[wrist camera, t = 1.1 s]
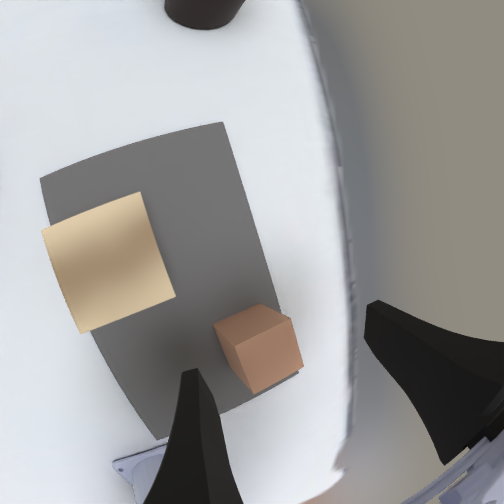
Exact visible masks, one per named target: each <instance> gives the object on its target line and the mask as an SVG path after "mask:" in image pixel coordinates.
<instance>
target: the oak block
mask: <svg viewBox="0 0 504 504" xmlns="http://www.w3.org/2000/svg"><path fill="white" fill-rule="evenodd" d="M41 232H42V235H43V239H44V242H45V245H46V248H47V252H48V255H49V258H50V261H51V264H52V267H53V270H54V272H55V275H56V278H57V281H58V283H59V286H60V288H61V291H62V293H63V296H64V298H65V301H66V303H67V306H68V308H69V310H70V313H71V315H72V317H73V319H74V321H75V324H76V326H77V328H78V330H79V332H80V334H83V333H85V332H88V331H90V330H93V329H96V328H98V327H101V326H103V325H106V324H108V323H111V322H114V321H116V320H119V319H121V318H124V317H126V316H129V315H131V314H134V313H136V312H139V311H141V310H144V309H146V308H149V307H151V306H154V305H156V304H159V303H161V302H164V301H166V300H169V299H171V298H174V297H176V295H175V293H174V290H173V287H172V285H171V282H170V279H169V277H168V274H167V271H166V269H165V266H164V263H163V260H162V257H161V255H160V252H159V249H158V246H157V243H156V240H155V237H154V234H153V231H152V228H151V225H150V222H149V219H148V216H147V212H146V209H145V206H144V203H143V199H142V196H141V192H137V193H134V194H131V195H128V196H125V197H123V198H120V199H117V200H114V201H111V202H109V203H106V204H103V205H101V206H98V207H96V208H93V209H90V210H88V211H85V212H83V213H80V214H78V215H75V216H73V217H71V218H68V219H66V220H63V221H61V222H59V223H56V224H54V225H52V226H50V227H47V228H45V229H43V230H41Z"/></svg>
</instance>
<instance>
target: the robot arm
mask: <svg viewBox="0 0 504 504" xmlns="http://www.w3.org/2000/svg"><path fill="white" fill-rule="evenodd" d="M364 339H365V341H366V342H367V344H368V346H369V347H370V349H371V351H372V352H373V354H374V355H375V357H376V358H377V359H378V360H379V362H380V363H381V364H382V365H383V366H384V367H385V369H386V370H387V371H388V372H389V374H390V375H391V376H392V377H393V378H394V379H395V381H396V382H397V383H398V384H399V385H400V386H401V388H402V389H403V390H404V392H405V393H406V394H407V396H408V397H409V399H410V400H411V402H412V404H413V405H414V407H415V408H416V410H417V412H418V414H419V416H420V417H421V419H422V421H423V423H424V424H425V427H426V428H427V431H428V433H429V435H430V437H431V439H432V441H433V443H434V446H435V448H436V451H437V453H438V456H439V459H440V460H441V462H442V463H443V464H444V465H446V464H447V463H449V462H450V461H451V460H452V459H453V458H455V457H456V456H457V455H458V454H459V453H460V452H461V451H463V450H464V449H465V448H466V447H467V446H468V448H469V449H470V451H469V452H468V453H467V454H465V455H464V456H463V457H462V458H461V459H460V460H459V461H457V462H456V463H455V464H454V465H453V466H452V467H450V468H449V469H448V470H447V471H446V472H444V473H443V474H442V475H440V476H439V477H438V478H436V479H435V480H434V481H432V482H431V483H430V484H428V485H427V486H426V487H424V488H423V489H421V490H420V491H419V492H417V493H416V494H414V495H413V496H411V497H410V498H408V499H406V500H405V501H403V502H402V503H400V504H425V503H426V502H427V501H429V500H430V499H432V498H433V497H434V496H436V495H437V494H438V493H440V492H441V491H442V490H444V489H445V488H446V487H447V486H449V485H450V484H451V483H452V482H454V481H455V480H456V479H457V478H458V477H459V476H461V475H462V474H463V473H464V472H465V471H466V470H467V474H466V475H465V476H464V477H462V478H461V479H459V480H458V481H457V482H455V483H454V484H453V485H451V486H450V487H449V488H448V489H447V490H446V491H445V492H443V493H442V494H441V495H440V496H439V500H440V501H441V502H440V503H438V504H504V342H496V341H488V340H483V339H478V338H473V337H468V336H464V335H461V334H458V333H454V332H451V331H448V330H445V329H442V328H440V327H437V326H435V325H432V324H430V323H427V322H425V321H423V320H421V319H418V318H416V317H414V316H412V315H410V314H408V313H405V312H403V311H401V310H399V309H397V308H395V307H393V306H391V305H389V304H387V303H384V302H382V301H380V300H377V301H375V302H373V303H370V304H368V305H367V309H366V322H365V332H364ZM112 465H113V468H114V469H115V470H116V471H117V472H118V473H119V474H120V475H121V476H122V477H123V478H124V479H125V480H126V481H127V482H128V483H129V484H130V485H131V486H132V487H133V489H134V495H135V500H136V504H243V501H242V499H241V496H240V494H239V491H238V488H237V486H236V483H235V480H234V477H233V474H232V471H231V468H230V464H229V460H228V455H227V450H226V445H225V440H224V435H223V430H222V425H221V420H220V416H219V413H218V409H217V406H216V403H215V400H214V396H213V394H212V393H211V391H210V389H209V387H208V386H207V384H206V382H205V380H204V378H203V377H202V375H201V373H200V371H199V369H198V368H195V369H191V370H187V371H184V372H182V374H181V380H180V388H179V394H178V400H177V406H176V410H175V415H174V420H173V425H172V428H171V432H170V436H169V440H168V444H167V445H164V446H162V447H159V448H156V449H153V450H150V451H147V452H144V453H141V454H138V455H135V456H132V457H128V458H125V459H121V460H118V461H114V462H113V463H112ZM120 468H121V469H120Z"/></svg>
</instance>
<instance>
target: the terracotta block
mask: <svg viewBox="0 0 504 504" xmlns="http://www.w3.org/2000/svg"><path fill="white" fill-rule="evenodd" d="M213 326H214V329H215V332H216V334H217V337H218V339H219V341H220V344H221V346H222V349H223V351H224V354H225V356H226V358H227V361H228V363H229V366H230V368H231V369H232V370H233V371H234V372H235V373H236V375H237V376H238V377H239V378H240V379H241V380H242V382H243V383H244V384H245V385H246V386H247V387H248V389H249V390H250V391H251V392H252V393H253V394H256V393H258V392H260V391H262V390H263V389H265V388H267V387H269V386H271V385H273V384H274V383H276V382H278V381H280V380H282V379H283V378H285V377H287V376H289V375H290V374H292V373H294V372H296V371H297V370H299V369H301V368H302V367H304V365H303V362H302V358H301V354H300V351H299V347H298V343H297V340H296V336H295V333H294V329H293V325H292V322H291V318H289V317H287V316H285V315H283V314H281V313H279V312H277V311H275V310H273V309H271V308H269V307H267V306H265V305H263V304H261V303H259V304H256V305H254V306H252V307H250V308H248V309H246V310H243V311H241V312H239V313H237V314H235V315H232V316H230V317H228V318H226V319H224V320H221V321H219V322H217V323H214V324H213Z"/></svg>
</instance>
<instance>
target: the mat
mask: <svg viewBox="0 0 504 504" xmlns="http://www.w3.org/2000/svg"><path fill="white" fill-rule="evenodd" d="M40 183H41V188H42V193H43V197H44V202H45V206H46V210H47V214H48V218H49V222H50V225H51V226H52V225H54V224H56V223H59V222H61V221H63V220H66V219H68V218H71V217H73V216H75V215H78V214H80V213H83V212H85V211H88V210H90V209H93V208H96V207H98V206H101V205H103V204H106V203H109V202H111V201H114V200H117V199H120V198H123V197H125V196H128V195H131V194H134V193H137V192H141V196H142V199H143V203H144V206H145V209H146V212H147V216H148V219H149V222H150V225H151V228H152V231H153V234H154V237H155V240H156V243H157V246H158V249H159V252H160V255H161V257H162V260H163V263H164V266H165V269H166V271H167V274H168V277H169V279H170V282H171V285H172V287H173V290H174V293H175V295H176V297H174V298H171V299H169V300H166V301H164V302H161V303H159V304H156V305H154V306H151V307H149V308H146V309H144V310H141V311H139V312H136V313H134V314H131V315H129V316H126V317H124V318H121V319H119V320H116V321H114V322H111V323H108V324H106V325H103V326H101V327H98V328H96V329H93V330H90V332H91V334H92V336H93V338H94V340H95V342H96V344H97V346H98V348H99V350H100V352H101V353H102V355H103V357H104V359H105V361H106V363H107V365H108V366H109V368H110V370H111V372H112V373H113V375H114V377H115V379H116V380H117V382H118V384H119V385H120V387H121V389H122V390H123V392H124V393H125V395H126V397H127V398H128V400H129V401H130V403H131V404H132V406H133V407H134V409H135V410H136V412H137V413H138V415H139V416H140V418H141V419H142V421H143V422H144V423H145V425H146V426H147V428H148V429H149V430H150V432H151V433H152V434H153V436H154V437H155V438H156V440H159V439H162V438H165V437H168V436H170V432H171V428H172V425H173V420H174V415H175V410H176V406H177V400H178V394H179V388H180V380H181V374H182V372H184V371H187V370H191V369H195V368H198V369H199V371H200V373H201V375H202V377H203V378H204V380H205V382H206V384H207V386H208V387H209V389H210V391H211V393H212V394H213V396H214V400H215V403H216V406H217V409H218V413H219V415H220V414H222V413H224V412H227V411H229V410H231V409H233V408H235V407H237V406H239V405H241V404H243V403H245V402H247V401H249V400H251V399H253V398H255V397H257V396H259V395H261V394H262V393H264V392H266V391H268V390H270V389H272V388H274V387H275V386H277V385H279V384H281V383H282V382H284V381H286V380H288V379H289V378H291V377H293V376H295V375H296V374H298V373H299V372H298V370H297V371H296V372H294V373H292V374H290V375H289V376H287V377H285V378H283V379H282V380H280V381H278V382H276V383H274V384H273V385H271V386H269V387H267V388H265V389H263V390H262V391H260V392H258V393H256V394H253V393H252V392H251V391H250V390H249V389H248V387H247V386H246V385H245V384H244V383H243V382H242V380H241V379H240V378H239V377H238V376H237V375H236V373H235V372H234V371H233V370H232V369H231V368H230V366H229V363H228V361H227V358H226V356H225V354H224V351H223V349H222V346H221V344H220V341H219V339H218V337H217V334H216V332H215V329H214V326H213V324H214V323H217V322H219V321H221V320H224V319H226V318H228V317H230V316H232V315H235V314H237V313H239V312H241V311H243V310H246V309H248V308H250V307H252V306H254V305H256V304H259V303H261V304H263V305H265V306H267V307H269V308H271V309H273V310H275V311H277V312H279V313H281V310H280V307H279V303H278V300H277V296H276V293H275V290H274V286H273V283H272V280H271V276H270V273H269V270H268V266H267V263H266V260H265V256H264V253H263V250H262V246H261V243H260V240H259V236H258V233H257V230H256V227H255V223H254V220H253V217H252V213H251V210H250V207H249V204H248V200H247V197H246V194H245V191H244V187H243V184H242V181H241V178H240V174H239V171H238V168H237V165H236V162H235V158H234V155H233V152H232V149H231V146H230V142H229V139H228V136H227V133H226V130H225V127H224V123H223V122H218V123H213V124H208V125H203V126H198V127H193V128H189V129H185V130H180V131H176V132H172V133H168V134H164V135H160V136H157V137H153V138H149V139H146V140H142V141H139V142H136V143H132V144H129V145H126V146H123V147H120V148H116V149H113V150H110V151H107V152H105V153H102V154H99V155H96V156H93V157H90V158H88V159H85V160H82V161H80V162H77V163H75V164H72V165H70V166H67V167H65V168H62V169H60V170H58V171H55V172H53V173H51V174H48V175H46V176H44V177H42V178H40ZM281 314H282V313H281Z"/></svg>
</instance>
